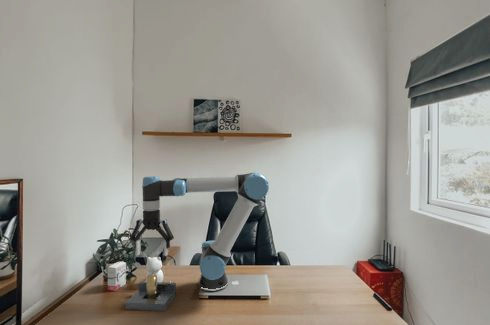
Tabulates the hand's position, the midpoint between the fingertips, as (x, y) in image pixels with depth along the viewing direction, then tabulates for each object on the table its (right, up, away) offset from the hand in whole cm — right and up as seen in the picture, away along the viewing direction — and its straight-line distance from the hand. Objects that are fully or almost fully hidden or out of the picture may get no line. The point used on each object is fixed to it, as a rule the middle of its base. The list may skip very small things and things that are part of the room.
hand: (152, 254), depth 125 cm
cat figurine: (-5, -22, +19) cm, 30 cm away
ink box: (-24, -22, +15) cm, 36 cm away
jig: (0, -22, 0) cm, 22 cm away
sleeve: (0, -22, 0) cm, 22 cm away
